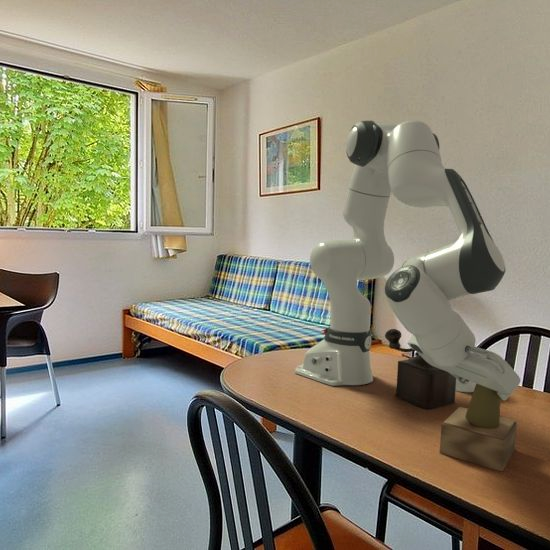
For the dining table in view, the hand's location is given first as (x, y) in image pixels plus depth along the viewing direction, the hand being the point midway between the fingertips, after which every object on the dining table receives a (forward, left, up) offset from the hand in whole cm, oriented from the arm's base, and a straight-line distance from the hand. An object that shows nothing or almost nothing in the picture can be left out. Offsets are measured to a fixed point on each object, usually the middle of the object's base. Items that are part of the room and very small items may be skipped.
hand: (484, 388), depth 90 cm
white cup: (-13, +36, -13) cm, 41 cm away
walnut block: (0, -1, -12) cm, 12 cm away
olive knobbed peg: (0, -1, -6) cm, 6 cm away
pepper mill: (-19, +18, -13) cm, 29 cm away
